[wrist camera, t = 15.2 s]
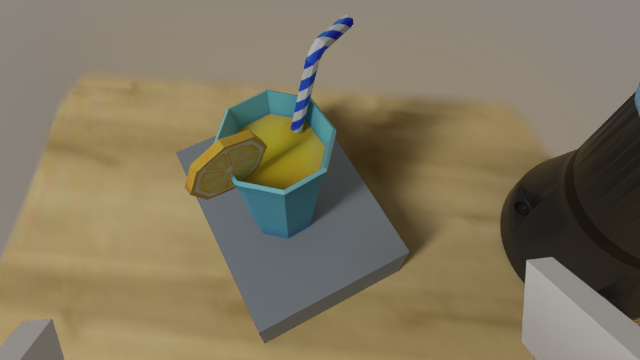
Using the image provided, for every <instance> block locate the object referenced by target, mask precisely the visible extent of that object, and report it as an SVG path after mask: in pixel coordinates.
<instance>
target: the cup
mask: <svg viewBox="0 0 640 360" xmlns="http://www.w3.org/2000/svg"><path fill="white" fill-rule="evenodd" d="M352 25H353V19H352V18H351V17H350V15H344V16H343V17H342V18H340V19H339V20H338V21H337V22H335V23H334V24H333V25H332V26H330V27H329V28H328V29H327V30H325V31H324V32H323V33H322V34H320V35H319V36H318V37H317V38H316V39H315V40H314V42H313V44H312V46H311V49H310V51H309V53H308V56H307V58H306V61H305V66H304V70H303V75H302V79H301V84H300V88H299V93H298V95H292V94H287V93H281V92H276V91H271V90H266V91H263V92H261V93H259V94H257V95H255V96H253V97H251V98H249V99H247V100H245V101H243V102H241V103H239V104H237V105H235V106H233V107H231V108H229V109H227V110H226V112H225V115H224V117H223V120H222V123H221V125H220V128H219V131H218V133H217V136H216V139H215V141H214V144H213V145H212V146H211V147H210V148H208V149H207V150H206V151H205V152H204V153H203V154H202V155H201V156H200V157H198V158H197V159H196V160H195V161H194V162H193V163H192V164H191V165H190V169H189V173H188V177H187V181H186V185H185V188H186V189H187V191H188V192H189V194H190V195H193V196H196V197H200V198H203V199H206V200H209V199H211V198H213V197H216V196H218V195H220V194H223V193H225V192H228V191H230V190H232V189H235V188H237V189H238V191H239V192H240V194H241V195H242V197H243V199H244V201H245V203H246V205H247V207H248V209H249V211H250V213H251V215H252V216H253V218H254V219H255V221H256V222H257V224H258V226H259V227H260V229H261V230H262V232H263V234H268V235H273V236H277V237H282V238H287V239H289V238H291V237H292V236H294V235H296V234H297V233H299V232H301V231H302V230H304V229H306V228H307V227H309V226H310V225H311V220H312V216H313V212H314V208H315V204H316V199H317V195H318V191H319V186H320V182H321V179H323V178H325V176H326V173H327V169H328V165H329V161H330V156H331V152H332V148H333V144H334V140H335V135H336V131H337V130H336V129H335V128H334V126H333V125H332V124H331V123H330V121H329V120H328V119H327V117H326V116H325V115H324V114H323V112H322V111H321V110H320V109H319V107H318V106H317V105H316V103H315V102H314V101H313V100H312V98H310V96H311V92H312V88H313V84H314V80H315V76H316V72H317V67H318V64H319V61H320V58H321V56H322V54H323V53H324V51H325V50H326V49H327V48H328V47H329V46H330V45H331V44H333V43H334V42H335V41H336V40H337V39H338V38H339V37H340V36H341V35H343V34H344V33H345V32H346V31H347V30H348V29H349V28H350V27H351V26H352Z"/></svg>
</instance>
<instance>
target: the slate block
mask: <svg viewBox="0 0 640 360" xmlns="http://www.w3.org/2000/svg"><path fill="white" fill-rule="evenodd" d="M215 139H216V136H215V137H213V138H210V139H208V140H205V141H203V142H201V143H198V144H196V145H193V146H191V147H189V148H186V149H184V150H181V151H179V152H177V153H176V154H177V156H178V158H179V160H180V162H181V165H182V167H183V169H184V171H185V173H186V176H187V177H188V173H189V169H190V165H191V164H192V163H193V162H194V161H195V160H196V159H197V158H198V157H200V156H201V155H202V154H203V153H204V152H205V151H206V150H207V149H208V148H210V147H211V146H212V145H213V144H214V141H215ZM197 199H198V202H199V204H200V206H201V208H202V210H203V212H204V215H205V217H206V219H207V221H208V223H209V226H210V228H211V230H212V232H213V234H214V236H215V239H216V241H217V243H218V245H219V247H220V249H221V252H222V254H223V256H224V258H225V260H226V263H227V265H228V267H229V269H230V271H231V273H232V276H233V278H234V280H235V282H236V284H237V286H238V289H239V291H240V293H241V295H242V297H243V300H244V302H245V304H246V306H247V308H248V310H249V313H250V315H251V317H252V319H253V321H254V323H255V326H256V328H257V330H258V332H259V334H260V336H261V338H262V339H263V341H264V343H266V342H268V341H270V340H272V339H274V338H275V337H277V336H279V335H281V334H283V333H285V332H286V331H288V330H290V329H292V328H294V327H296V326H297V325H299V324H301V323H303V322H305V321H307V320H309V319H310V318H312V317H314V316H316V315H318V314H320V313H321V312H323V311H325V310H327V309H329V308H331V307H332V306H334V305H336V304H338V303H340V302H342V301H343V300H345V299H347V298H349V297H351V296H353V295H354V294H356V293H358V292H360V291H362V290H364V289H365V288H367V287H369V286H371V285H373V284H375V283H377V282H378V281H380V280H382V279H384V278H386V277H388V276H389V275H391V274H393V273H395V272H397V271H399V269H400V268H401V266H402V264H403V263H404V261H405V259H406V257H407V256H408V254H409V252H410V251H409V250H408V248H407V247H406V245H405V244H404V242H403V241H402V239H401V238H400V236H399V235H398V233H397V231H396V230H395V228H394V227H393V225H392V224H391V222H390V221H389V219H388V218H387V216H386V215H385V213H384V211H383V210H382V208H381V207H380V205H379V204H378V202H377V201H376V199H375V198H374V196H373V195H372V193H371V191H370V190H369V188H368V187H367V185H366V184H365V182H364V181H363V179H362V178H361V176H360V175H359V173H358V171H357V170H356V168H355V167H354V165H353V164H352V162H351V161H350V159H349V158H348V156H347V155H346V153H345V151H344V150H343V148H342V147H341V145H340V144H339V142H338V141H337V139H336V138H335V140H334V144H333V148H332V152H331V156H330V161H329V165H328V169H327V173H326V176H325V178H323V179H321V182H320V186H319V191H318V195H317V199H316V204H315V208H314V212H313V216H312V220H311V225H310V226H309V227H307V228H306V229H304V230H302V231H301V232H299V233H297V234H296V235H294V236H292V237H291V238H289V239H287V238H282V237H277V236H273V235H268V234H263V232H262V230H261V229H260V227H259V226H258V224H257V222H256V221H255V219H254V218H253V216H252V215H251V213H250V211H249V209H248V207H247V205H246V203H245V201H244V199H243V197H242V195H241V194H240V192H239V191H238V189H237V188H235V189H232V190H230V191H228V192H225V193H223V194H220V195H218V196H216V197H213V198H211V199H209V200H206V199H203V198H200V197H197Z"/></svg>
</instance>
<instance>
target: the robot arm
mask: <svg viewBox="0 0 640 360" xmlns="http://www.w3.org/2000/svg"><path fill="white" fill-rule="evenodd" d="M500 225H501V237H502V242H503V245H504V249H505V251H506V254H507V257H508V259H509V261H510V263H511V265H512V267H513V268H514V270H515V271H516V273H517V274H518V276H519V277H520V278H521V280H522V281H523V282H524V283H525V291H524V307H523V323H522V339H521V342H522V343H523V344H524V345H525V346H526V348H527V349H528V350H529V351H530V353H531V354H532V355H533V356H534V358H535V359H536V360H640V326H638V325H637V324H636V323H635V322H633V321H632V320H635V319H638V318H640V83H639V87H638V89H637V90H636V92H635V93H634V94H633V95H632V96H631V97H630V98H629V99H628V100H627V101H626V102H625V103H624V104H623V105H622V106H621V107H620V108H619V109H618V110H617V111H616V112H615V113H614V114H613V115H612V116H611V117H610V118H609V119H608V120H607V121H606V122H605V123H604V124H603V125H602V126H601V127H600V128H599V129H598V130H597V131H596V132H595V133H594V134H593V135H592V136H591V137H590V138H589V139H588V140H586V142H584V144H583V145H582V146H581V147H580V148H579V149H577V150H574V151H571V152H569V153H566V154H564V155H561V156H558V157H556V158H553V159H550V160H548V161H545V162H543V163H541V164H539V165H537V166H536V167H534V168H533V169H531V170H530V171H529V172H527V173H526V174H525V175H524V176H523V177H522V178H521V179H520V181H519V182H518V183H517V184H516V185H515V186H514V188H513V189H512V190H511V191H510V193H509V194H508V196H507V198H506V200H505V203H504V206H503V209H502V213H501V224H500ZM0 360H64V357H63V353H62V350H61V347H60V343H59V340H58V337H57V333H56V330H55V327H54V323H53V320H52V318H51V319H43V320H35V321H26V322H22V323H21V324H20V325H19V326H18V327H17V329H16V330H15V331H14V332H13V333H12V334H11V336H10V337H9V338H8V339H7V340H6V341H5V342H4V344H3V345H2V346H1V347H0Z"/></svg>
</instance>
